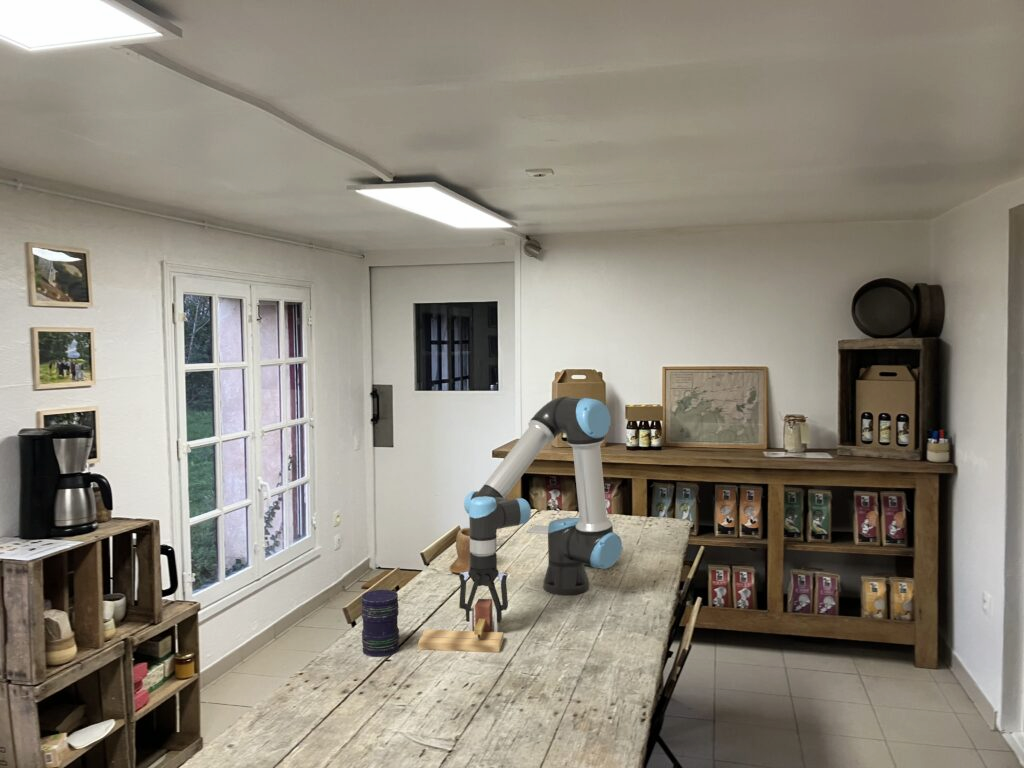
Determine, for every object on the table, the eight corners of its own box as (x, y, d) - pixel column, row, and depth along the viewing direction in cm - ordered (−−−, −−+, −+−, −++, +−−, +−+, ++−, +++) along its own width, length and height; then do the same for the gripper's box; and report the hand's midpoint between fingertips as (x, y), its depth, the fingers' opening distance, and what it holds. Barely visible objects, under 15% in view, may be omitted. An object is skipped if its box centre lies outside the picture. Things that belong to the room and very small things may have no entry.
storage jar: (368, 660, 208) (367, 604, 207) (357, 647, 217) (356, 593, 216) (404, 652, 212) (403, 597, 211) (392, 640, 221) (391, 587, 220)
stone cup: (478, 577, 277) (478, 534, 276) (445, 575, 279) (445, 533, 278) (489, 564, 292) (488, 524, 291) (458, 563, 294) (457, 523, 293)
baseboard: (599, 540, 326) (604, 533, 337) (599, 533, 326) (604, 526, 337) (526, 535, 335) (534, 528, 347) (526, 528, 335) (534, 521, 347)
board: (503, 639, 221) (503, 632, 221) (499, 652, 212) (499, 645, 212) (425, 636, 223) (425, 629, 223) (418, 649, 214) (418, 642, 214)
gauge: (492, 629, 228) (492, 599, 227) (485, 649, 214) (484, 616, 213) (478, 629, 228) (478, 598, 228) (470, 648, 215) (470, 616, 214)
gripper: (518, 549, 226) (519, 629, 228) (452, 548, 228) (453, 626, 230) (515, 557, 219) (516, 639, 220) (447, 555, 221) (448, 636, 222)
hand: (483, 632), depth 225 cm, fingers open, 6 cm apart
